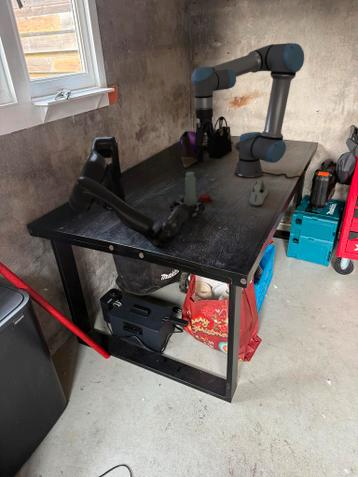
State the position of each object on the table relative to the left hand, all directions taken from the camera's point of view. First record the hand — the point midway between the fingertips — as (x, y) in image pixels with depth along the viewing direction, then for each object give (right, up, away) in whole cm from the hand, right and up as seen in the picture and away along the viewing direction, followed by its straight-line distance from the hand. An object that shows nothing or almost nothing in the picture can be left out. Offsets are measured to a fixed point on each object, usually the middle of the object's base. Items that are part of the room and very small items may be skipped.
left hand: (192, 200), depth 146 cm
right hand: (+6, +20, +4) cm, 22 cm away
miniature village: (+51, +50, +94) cm, 118 cm away
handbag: (+23, +41, +80) cm, 93 cm away
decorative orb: (+2, +44, +88) cm, 98 cm away
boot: (+1, +32, +68) cm, 76 cm away
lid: (+7, +4, +14) cm, 16 cm away
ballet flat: (+33, +3, +14) cm, 36 cm away
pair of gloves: (+17, +55, +105) cm, 120 cm away
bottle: (0, -6, +2) cm, 6 cm away
